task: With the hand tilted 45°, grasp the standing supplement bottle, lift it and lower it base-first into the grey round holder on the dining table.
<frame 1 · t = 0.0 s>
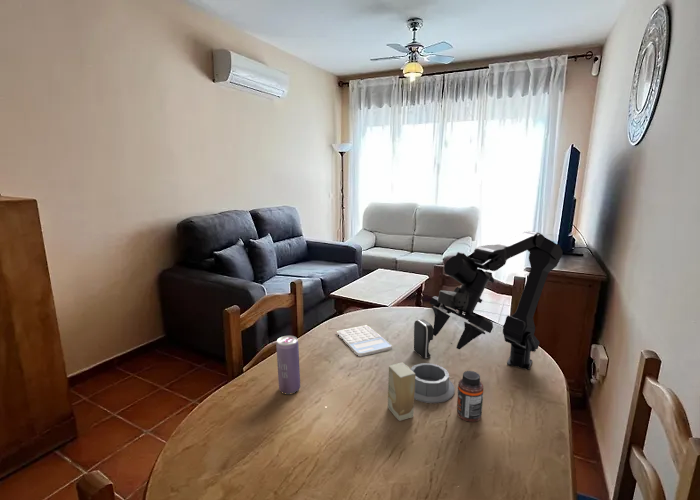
hand: (445, 341, 104), 15 cm above the table, tool tilted 35°, fingers open, 9 cm apart
calculator: (363, 342, 138), on the table
grey round holder: (428, 388, 109), on the table
supplement bottle: (468, 416, 97), on the table
beverage can: (289, 389, 109), on the table
battery charger: (423, 354, 128), on the table
skincare box: (400, 413, 98), on the table
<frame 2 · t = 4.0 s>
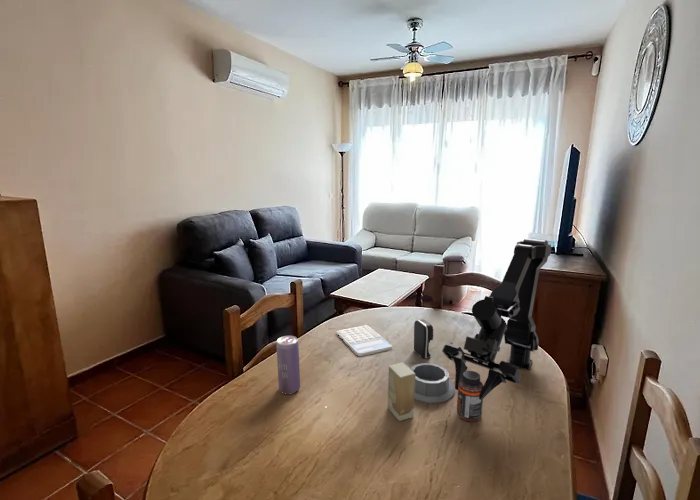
hand: (467, 394, 94), 7 cm above the table, tool tilted 45°, fingers closed on supplement bottle, 6 cm apart
supplement bottle: (468, 416, 97), on the table, touching gripper
everything else where it was.
when the fingers open (8 cm above the table, at t = 8.8 s): supplement bottle stays where it is, resting on grey round holder.
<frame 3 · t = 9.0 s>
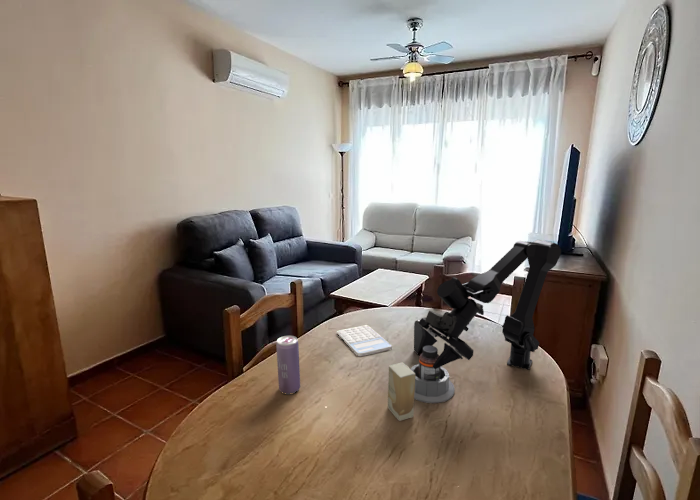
hand: (425, 361, 106), 9 cm above the table, tool tilted 45°, fingers open, 7 cm apart
supplement bottle: (429, 385, 109), point 1 cm above the table, touching grey round holder
everything else where it was.
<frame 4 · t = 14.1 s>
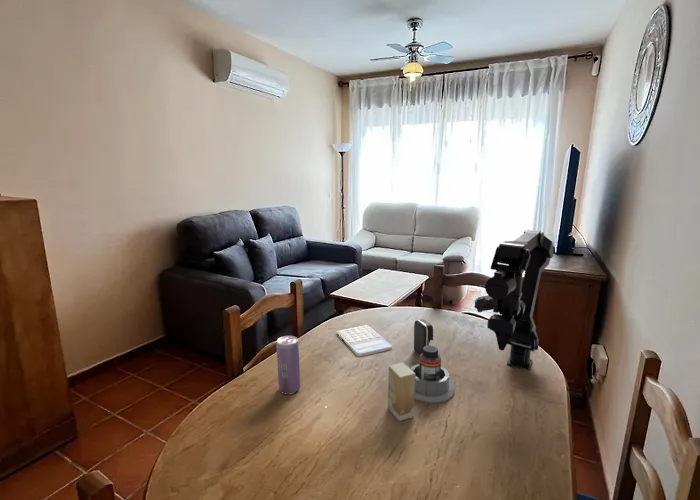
hand: (505, 343, 107), 13 cm above the table, tool pointing down, fingers open, 9 cm apart
nothing on the table moved.
at the end: supplement bottle 0.2 cm off-centre on the grey round holder, point 0.6 cm above the grey round holder's base; supplement bottle tilted 0°; the gripper is holding nothing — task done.
